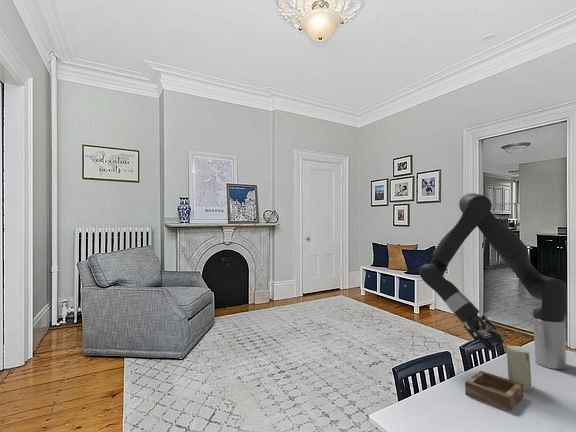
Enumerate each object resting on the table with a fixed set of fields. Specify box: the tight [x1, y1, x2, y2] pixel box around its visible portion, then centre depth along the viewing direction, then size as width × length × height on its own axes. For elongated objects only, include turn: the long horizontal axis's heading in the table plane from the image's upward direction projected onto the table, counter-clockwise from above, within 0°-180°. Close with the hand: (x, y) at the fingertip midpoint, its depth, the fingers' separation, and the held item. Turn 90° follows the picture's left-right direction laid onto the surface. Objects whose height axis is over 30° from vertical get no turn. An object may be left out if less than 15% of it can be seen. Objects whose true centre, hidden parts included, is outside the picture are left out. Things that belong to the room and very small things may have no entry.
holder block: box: [464, 370, 525, 412], centre depth 98 cm, size 12×12×4 cm
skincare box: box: [506, 345, 533, 392], centre depth 104 cm, size 6×4×12 cm
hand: (497, 346), depth 109 cm, fingers open, 8 cm apart
